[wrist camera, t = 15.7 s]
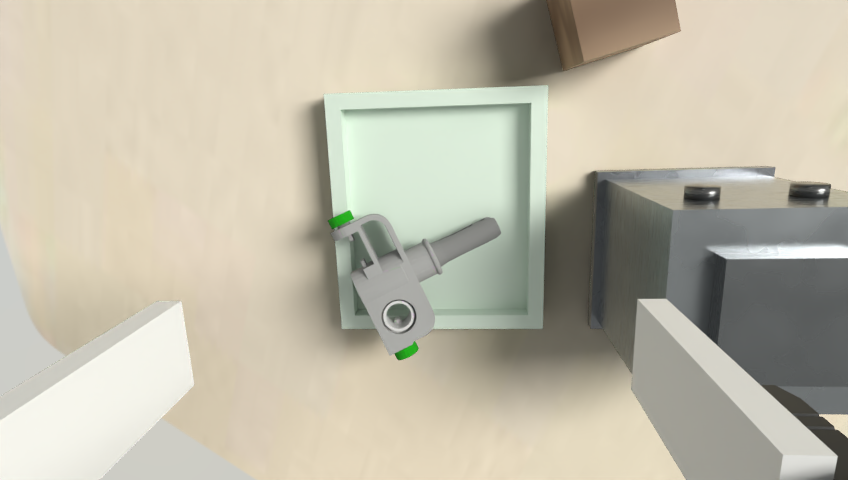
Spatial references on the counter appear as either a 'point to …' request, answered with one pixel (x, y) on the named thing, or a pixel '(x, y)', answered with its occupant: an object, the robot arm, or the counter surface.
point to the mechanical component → (405, 276)
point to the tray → (445, 195)
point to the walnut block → (608, 27)
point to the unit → (730, 269)
